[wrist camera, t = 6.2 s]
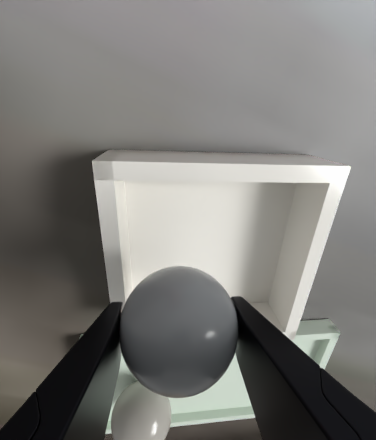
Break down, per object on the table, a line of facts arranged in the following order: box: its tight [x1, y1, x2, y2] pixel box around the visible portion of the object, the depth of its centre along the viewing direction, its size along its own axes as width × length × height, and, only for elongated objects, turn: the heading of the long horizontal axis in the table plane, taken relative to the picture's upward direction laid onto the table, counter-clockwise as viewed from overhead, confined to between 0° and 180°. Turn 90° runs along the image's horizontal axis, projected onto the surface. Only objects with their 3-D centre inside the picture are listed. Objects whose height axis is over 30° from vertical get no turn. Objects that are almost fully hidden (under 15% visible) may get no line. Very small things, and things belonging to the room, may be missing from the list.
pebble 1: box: [111, 381, 172, 440], centre depth 16 cm, size 4×4×4 cm
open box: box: [92, 149, 351, 340], centre depth 12 cm, size 10×10×3 cm
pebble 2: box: [119, 266, 239, 398], centre depth 8 cm, size 4×4×4 cm
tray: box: [79, 319, 341, 434], centre depth 18 cm, size 10×18×1 cm, turn 88°
